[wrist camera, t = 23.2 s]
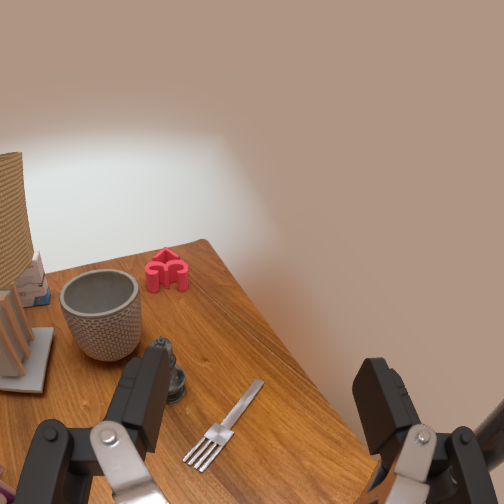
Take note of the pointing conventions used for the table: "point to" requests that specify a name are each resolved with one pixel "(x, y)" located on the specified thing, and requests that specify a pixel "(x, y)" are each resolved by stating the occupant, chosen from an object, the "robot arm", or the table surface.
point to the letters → (166, 271)
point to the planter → (103, 313)
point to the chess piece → (172, 372)
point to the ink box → (33, 284)
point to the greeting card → (6, 491)
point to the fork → (222, 430)
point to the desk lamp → (5, 292)
